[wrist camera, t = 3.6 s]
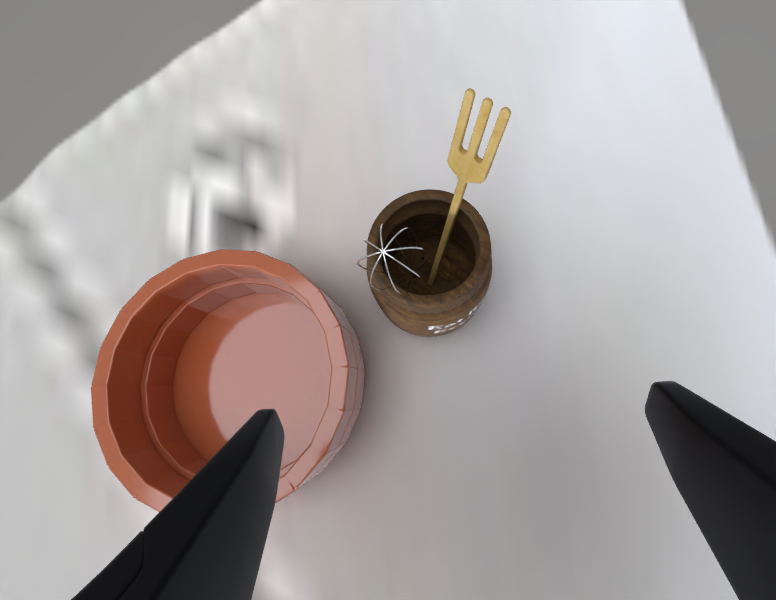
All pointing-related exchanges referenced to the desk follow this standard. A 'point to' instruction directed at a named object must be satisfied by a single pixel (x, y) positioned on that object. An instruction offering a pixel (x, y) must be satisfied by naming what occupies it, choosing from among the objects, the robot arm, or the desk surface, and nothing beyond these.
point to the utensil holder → (436, 241)
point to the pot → (223, 372)
